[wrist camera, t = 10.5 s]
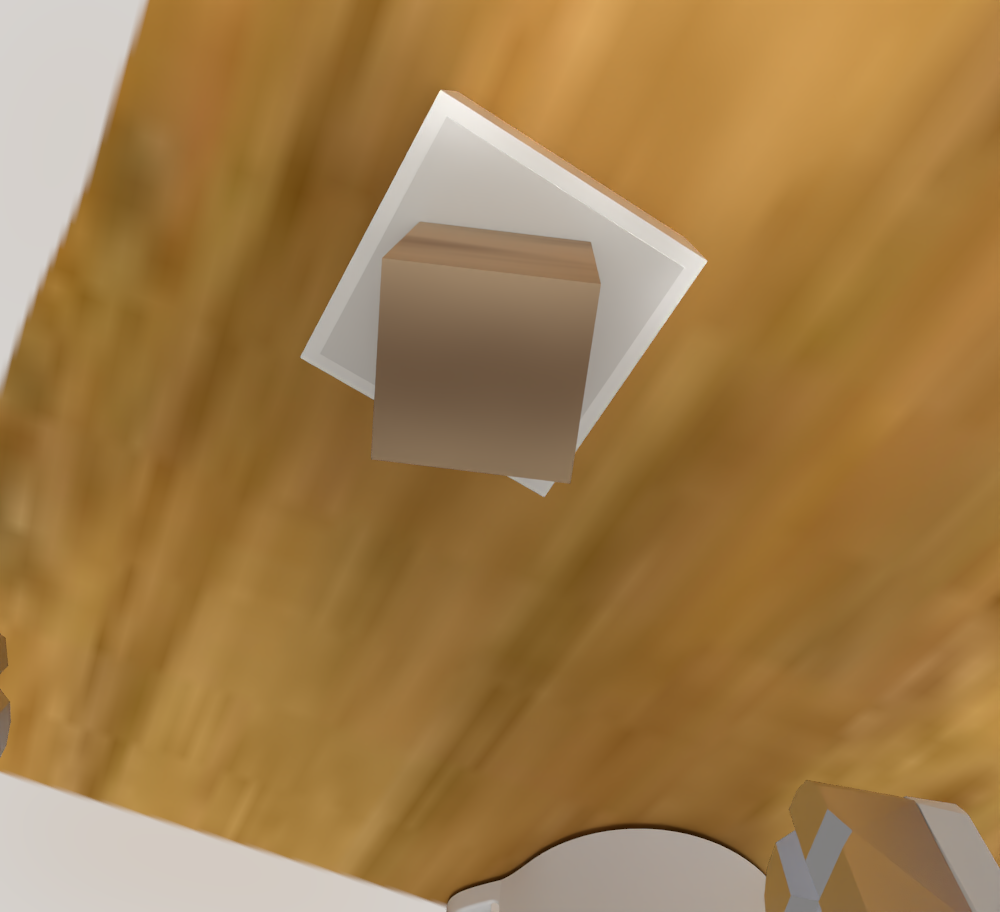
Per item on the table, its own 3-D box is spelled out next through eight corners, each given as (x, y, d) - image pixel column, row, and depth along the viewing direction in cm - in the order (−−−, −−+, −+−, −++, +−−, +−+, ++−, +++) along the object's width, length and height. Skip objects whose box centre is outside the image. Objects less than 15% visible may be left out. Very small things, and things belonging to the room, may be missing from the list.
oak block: (567, 403, 27) (569, 483, 22) (408, 384, 27) (371, 459, 22) (590, 241, 25) (601, 284, 20) (419, 221, 25) (381, 258, 20)
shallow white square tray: (545, 442, 33) (544, 499, 28) (336, 320, 32) (298, 358, 27) (683, 236, 30) (708, 261, 25) (458, 91, 29) (439, 89, 24)
